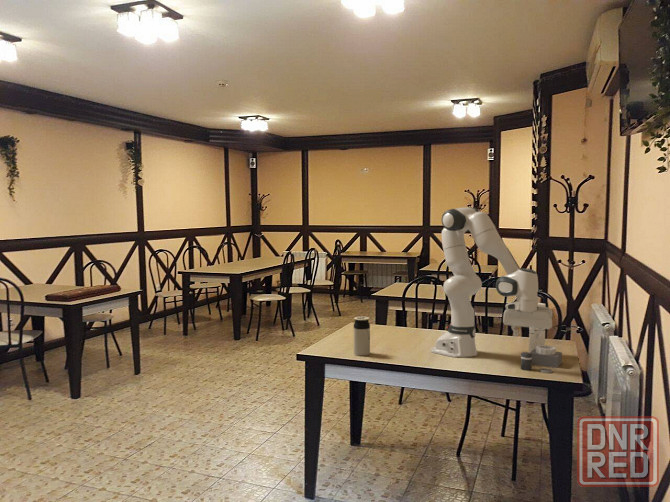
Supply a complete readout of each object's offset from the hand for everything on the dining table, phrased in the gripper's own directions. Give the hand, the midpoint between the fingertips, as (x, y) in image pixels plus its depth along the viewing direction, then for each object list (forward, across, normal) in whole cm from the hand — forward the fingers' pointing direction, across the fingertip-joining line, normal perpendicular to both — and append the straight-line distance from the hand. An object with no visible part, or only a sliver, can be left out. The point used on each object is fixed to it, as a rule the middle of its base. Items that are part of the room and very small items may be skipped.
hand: (527, 336), depth 224 cm
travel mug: (+14, +74, +18) cm, 78 cm away
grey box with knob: (+14, -5, -14) cm, 21 cm away
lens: (+14, 0, 0) cm, 14 cm away
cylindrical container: (+14, +2, -27) cm, 31 cm away
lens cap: (+15, -8, -1) cm, 17 cm away
